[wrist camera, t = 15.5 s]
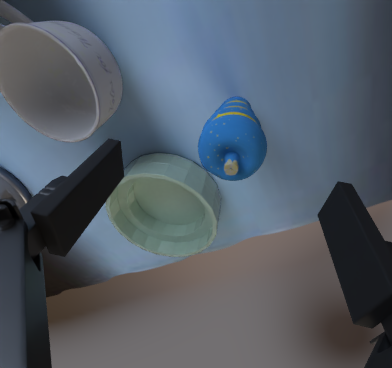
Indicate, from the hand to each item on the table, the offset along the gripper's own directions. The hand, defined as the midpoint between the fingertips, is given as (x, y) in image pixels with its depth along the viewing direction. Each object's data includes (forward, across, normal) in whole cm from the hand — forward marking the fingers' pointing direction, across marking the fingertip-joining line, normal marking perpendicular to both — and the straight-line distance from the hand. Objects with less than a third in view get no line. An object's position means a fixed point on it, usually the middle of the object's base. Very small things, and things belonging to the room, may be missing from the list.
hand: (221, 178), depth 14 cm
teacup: (+16, -18, +2) cm, 24 cm away
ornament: (+16, 0, 0) cm, 16 cm away
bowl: (+16, -7, -16) cm, 24 cm away
